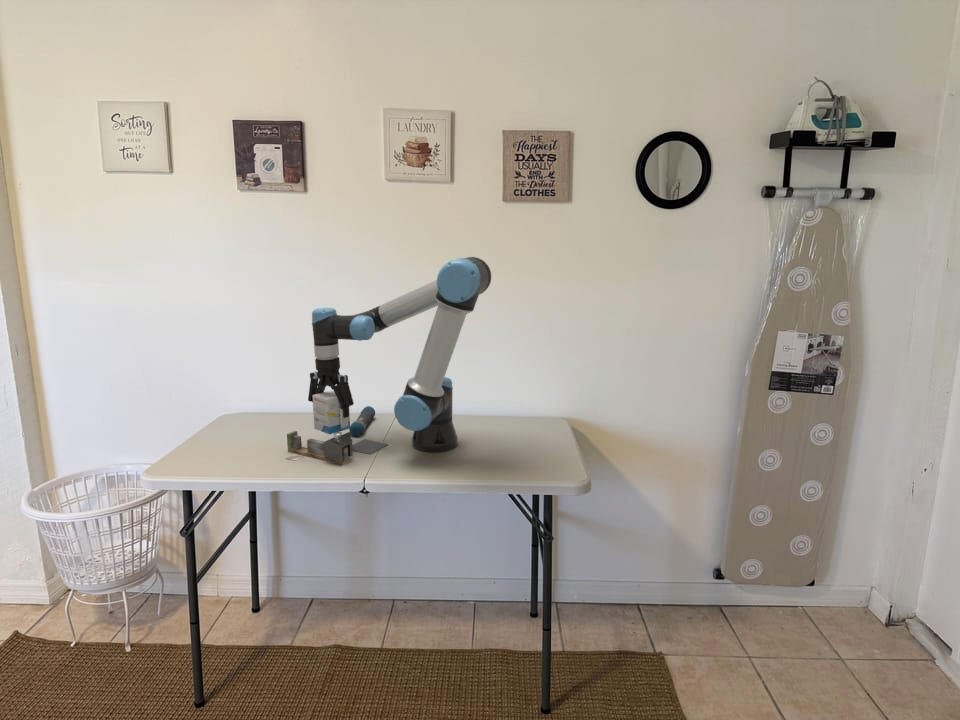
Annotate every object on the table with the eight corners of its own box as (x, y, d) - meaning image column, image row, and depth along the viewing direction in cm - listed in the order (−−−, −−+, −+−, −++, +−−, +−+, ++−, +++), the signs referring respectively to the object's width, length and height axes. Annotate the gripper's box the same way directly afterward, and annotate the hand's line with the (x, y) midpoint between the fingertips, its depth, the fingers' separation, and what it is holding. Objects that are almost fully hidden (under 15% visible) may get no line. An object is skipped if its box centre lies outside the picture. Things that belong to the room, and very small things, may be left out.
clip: (352, 455, 190) (351, 431, 188) (340, 462, 185) (338, 437, 183) (337, 452, 193) (336, 428, 191) (324, 458, 188) (323, 434, 186)
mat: (388, 444, 203) (388, 444, 203) (370, 454, 195) (370, 453, 194) (364, 439, 208) (364, 438, 208) (345, 449, 199) (345, 448, 199)
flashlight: (375, 418, 231) (375, 406, 230) (362, 438, 210) (362, 424, 208) (362, 418, 231) (362, 405, 230) (348, 438, 210) (347, 424, 209)
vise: (350, 460, 189) (349, 442, 188) (332, 470, 182) (331, 451, 181) (296, 448, 199) (295, 430, 198) (276, 456, 192) (275, 438, 191)
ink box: (351, 428, 199) (349, 394, 197) (329, 435, 193) (327, 399, 191) (335, 422, 205) (333, 389, 202) (313, 428, 199) (311, 394, 196)
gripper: (362, 357, 192) (366, 425, 197) (309, 352, 202) (314, 417, 207) (346, 362, 186) (351, 432, 190) (292, 356, 196) (298, 423, 200)
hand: (332, 424), depth 199 cm, fingers closed on ink box, 9 cm apart
